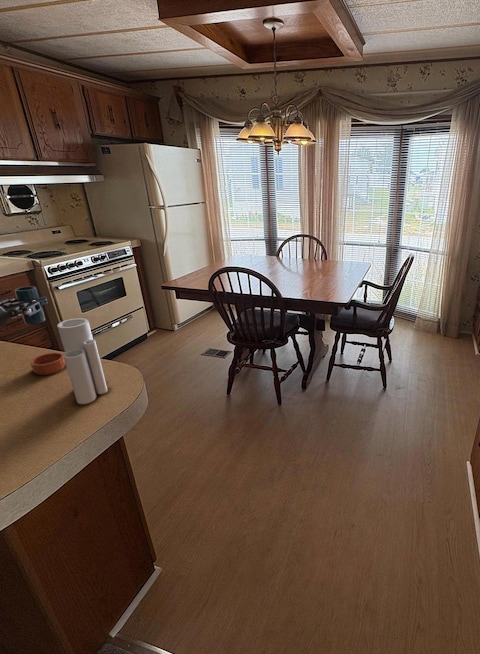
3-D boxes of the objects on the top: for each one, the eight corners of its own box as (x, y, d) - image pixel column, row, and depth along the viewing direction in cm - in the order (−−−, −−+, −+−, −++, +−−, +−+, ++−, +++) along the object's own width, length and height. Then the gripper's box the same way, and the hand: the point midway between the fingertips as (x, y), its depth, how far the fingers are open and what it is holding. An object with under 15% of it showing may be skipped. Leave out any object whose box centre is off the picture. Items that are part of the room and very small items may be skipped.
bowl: (42, 378, 100) (39, 367, 99) (28, 370, 104) (24, 360, 102) (71, 366, 107) (68, 356, 106) (57, 359, 110) (54, 350, 109)
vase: (75, 385, 97) (56, 321, 90) (104, 378, 101) (89, 316, 94) (77, 406, 89) (56, 337, 81) (109, 397, 93) (92, 330, 85)
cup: (33, 325, 96) (22, 291, 93) (21, 323, 98) (10, 289, 94) (49, 319, 101) (40, 287, 97) (37, 317, 102) (27, 285, 98)
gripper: (-4, 308, 81) (56, 288, 97) (-56, 304, 83) (12, 285, 99) (6, 337, 84) (63, 312, 100) (-45, 332, 86) (20, 309, 102)
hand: (37, 299), depth 99 cm, fingers closed on cup, 4 cm apart
